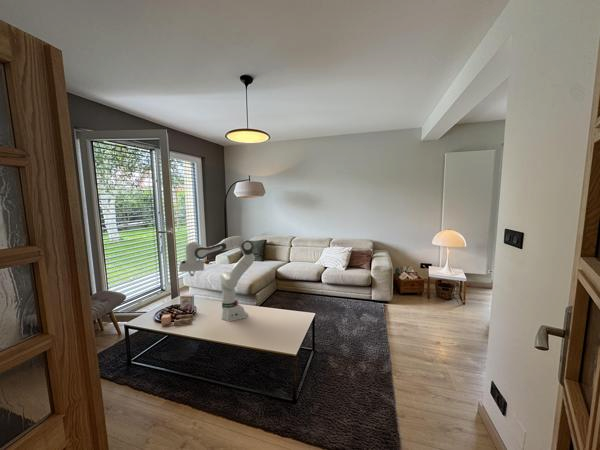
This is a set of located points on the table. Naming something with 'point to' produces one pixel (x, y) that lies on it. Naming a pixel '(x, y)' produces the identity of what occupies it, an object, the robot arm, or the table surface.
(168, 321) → the block
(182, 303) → the candy bar box
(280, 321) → the table surface
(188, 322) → the chute
